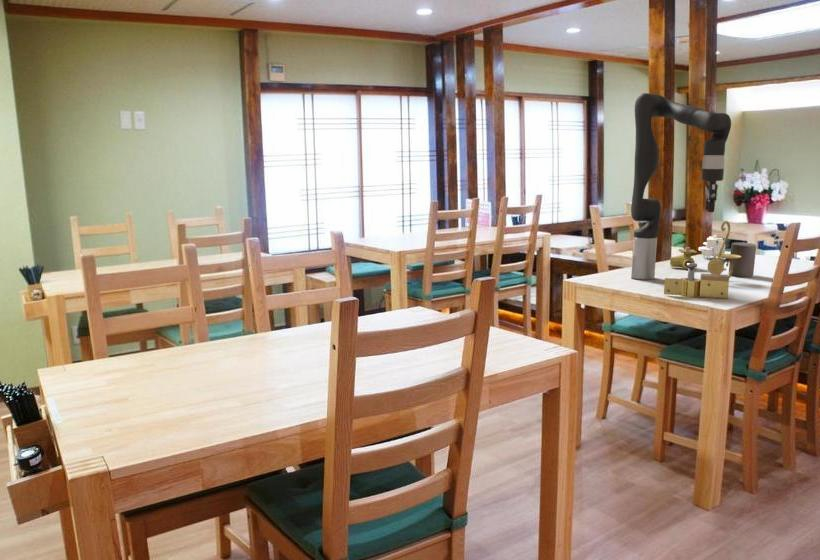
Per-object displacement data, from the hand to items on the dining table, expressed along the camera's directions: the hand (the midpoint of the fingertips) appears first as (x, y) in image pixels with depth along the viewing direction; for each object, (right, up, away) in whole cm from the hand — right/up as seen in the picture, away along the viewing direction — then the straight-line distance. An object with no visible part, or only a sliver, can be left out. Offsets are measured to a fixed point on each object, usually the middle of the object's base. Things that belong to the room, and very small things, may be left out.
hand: (709, 211), depth 254 cm
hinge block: (-8, -32, -6) cm, 33 cm away
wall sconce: (+14, -27, +20) cm, 36 cm away
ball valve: (+11, -21, +53) cm, 58 cm away
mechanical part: (+35, -16, +79) cm, 88 cm away
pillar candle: (+28, -24, +34) cm, 50 cm away
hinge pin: (-10, -32, -6) cm, 34 cm away
